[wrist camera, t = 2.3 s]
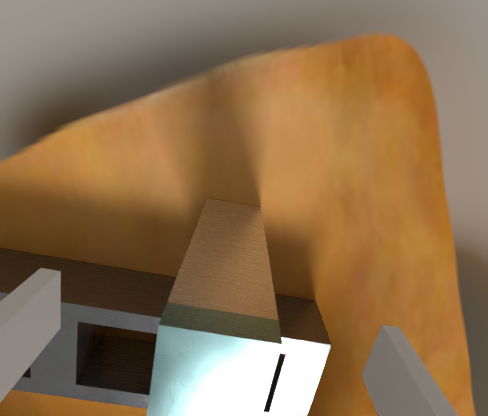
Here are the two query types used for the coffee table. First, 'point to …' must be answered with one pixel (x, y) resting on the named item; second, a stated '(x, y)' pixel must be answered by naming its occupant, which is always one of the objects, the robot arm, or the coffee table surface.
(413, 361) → the robot arm
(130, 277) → the rack rail
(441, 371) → the coffee table surface
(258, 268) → the square peg
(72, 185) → the coffee table surface
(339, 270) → the coffee table surface
